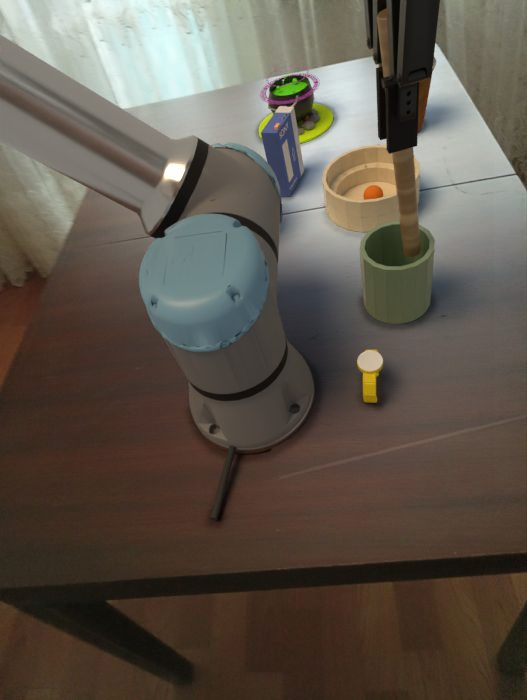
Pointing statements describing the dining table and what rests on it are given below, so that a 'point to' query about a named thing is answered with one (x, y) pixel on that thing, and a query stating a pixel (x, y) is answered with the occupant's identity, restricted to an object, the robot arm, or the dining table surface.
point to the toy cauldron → (298, 104)
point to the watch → (370, 373)
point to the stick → (402, 167)
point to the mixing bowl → (362, 188)
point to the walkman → (283, 149)
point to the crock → (395, 274)
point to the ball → (373, 192)
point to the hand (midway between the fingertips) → (397, 140)
